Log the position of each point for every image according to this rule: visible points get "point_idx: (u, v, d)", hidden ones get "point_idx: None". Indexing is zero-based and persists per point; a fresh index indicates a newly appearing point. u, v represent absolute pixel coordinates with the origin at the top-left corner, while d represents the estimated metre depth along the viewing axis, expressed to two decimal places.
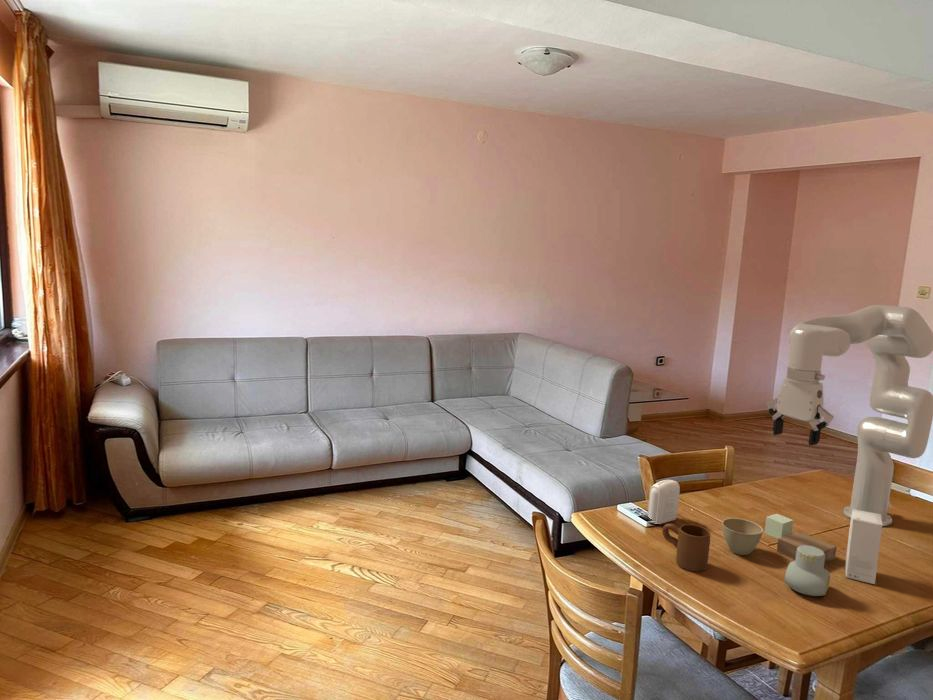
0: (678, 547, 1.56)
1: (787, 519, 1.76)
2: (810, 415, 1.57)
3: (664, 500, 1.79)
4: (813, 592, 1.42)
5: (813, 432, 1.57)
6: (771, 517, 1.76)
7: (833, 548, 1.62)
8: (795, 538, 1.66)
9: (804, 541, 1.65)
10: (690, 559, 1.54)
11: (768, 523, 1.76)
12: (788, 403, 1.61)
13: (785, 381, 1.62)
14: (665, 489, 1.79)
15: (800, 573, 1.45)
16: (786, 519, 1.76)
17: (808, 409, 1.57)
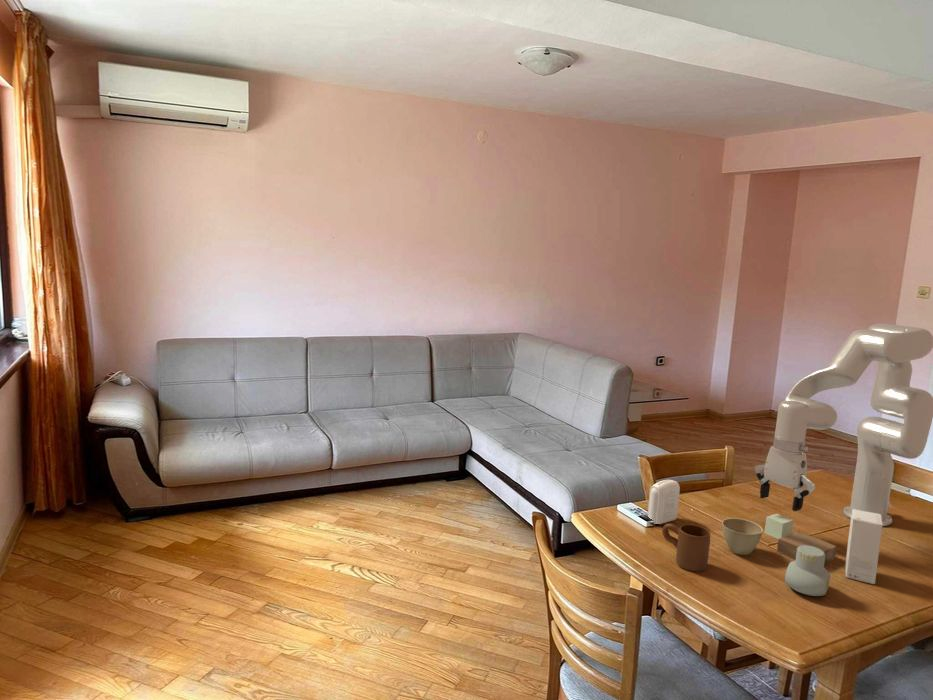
0: (678, 547, 1.56)
1: (787, 519, 1.76)
2: (794, 483, 1.69)
3: (664, 500, 1.79)
4: (813, 592, 1.42)
5: (796, 499, 1.70)
6: (771, 517, 1.77)
7: (833, 547, 1.62)
8: (795, 538, 1.66)
9: (804, 541, 1.65)
10: (690, 559, 1.54)
11: (768, 523, 1.76)
12: (774, 470, 1.74)
13: (772, 449, 1.74)
14: (665, 489, 1.79)
15: (800, 573, 1.45)
16: (786, 519, 1.76)
17: (792, 478, 1.69)
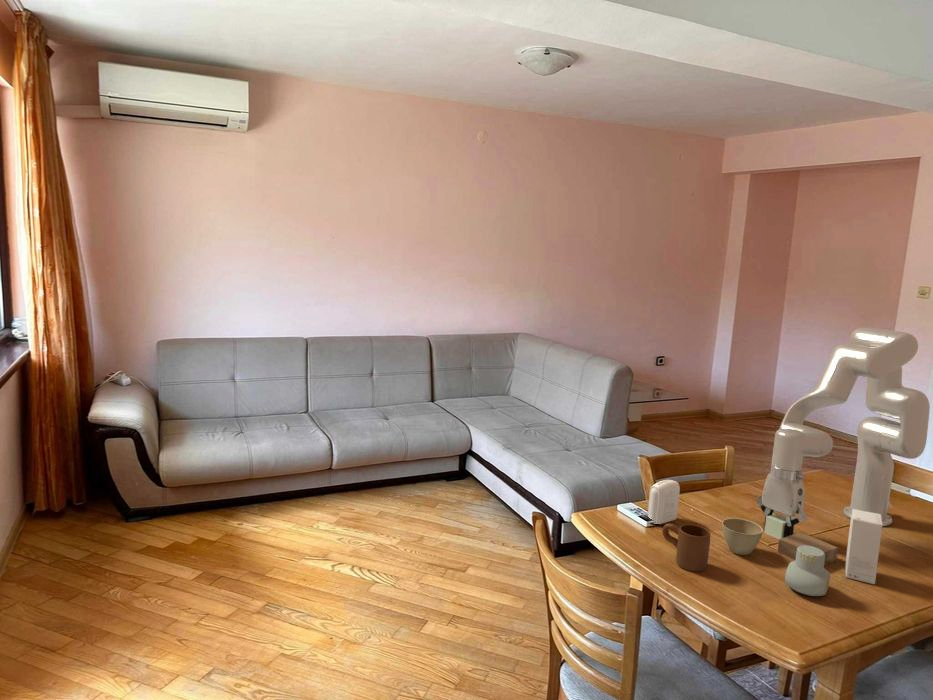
0: (678, 547, 1.56)
1: None
2: (791, 511, 1.71)
3: (664, 500, 1.79)
4: (813, 592, 1.42)
5: (787, 527, 1.73)
6: (771, 517, 1.76)
7: (834, 549, 1.61)
8: (796, 539, 1.66)
9: (805, 542, 1.64)
10: (690, 559, 1.54)
11: (768, 523, 1.76)
12: (772, 497, 1.75)
13: (769, 477, 1.76)
14: (665, 489, 1.79)
15: (800, 573, 1.45)
16: None
17: (790, 505, 1.71)
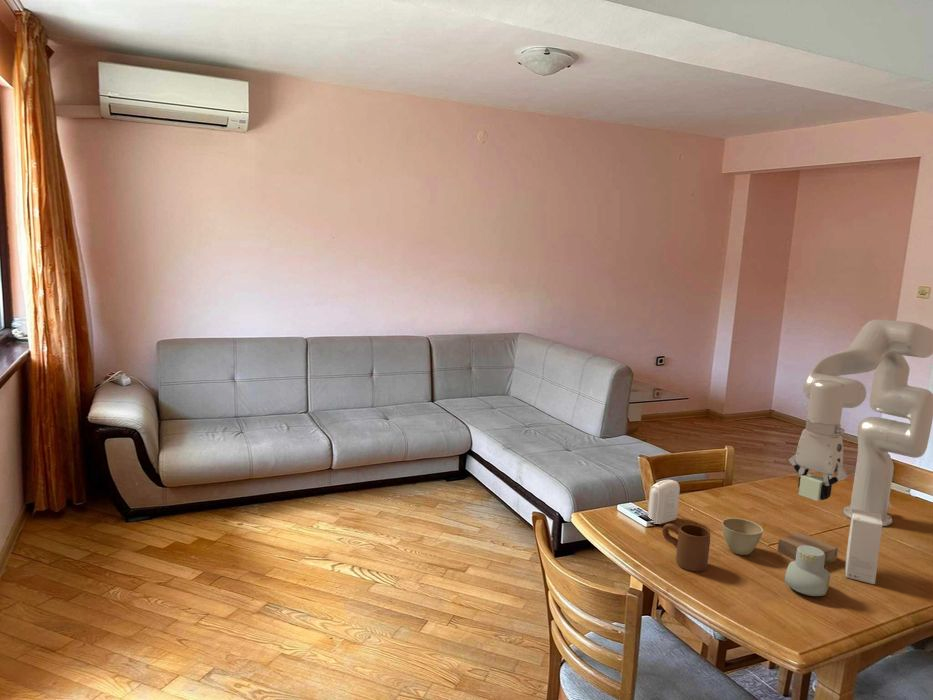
0: (678, 547, 1.56)
1: None
2: (829, 468, 1.56)
3: (664, 500, 1.79)
4: (813, 592, 1.42)
5: (824, 487, 1.58)
6: (806, 477, 1.62)
7: (834, 549, 1.61)
8: (796, 539, 1.66)
9: (805, 542, 1.64)
10: (690, 559, 1.54)
11: (803, 483, 1.62)
12: (807, 455, 1.61)
13: (804, 433, 1.61)
14: (665, 489, 1.79)
15: (800, 573, 1.45)
16: None
17: (828, 463, 1.56)
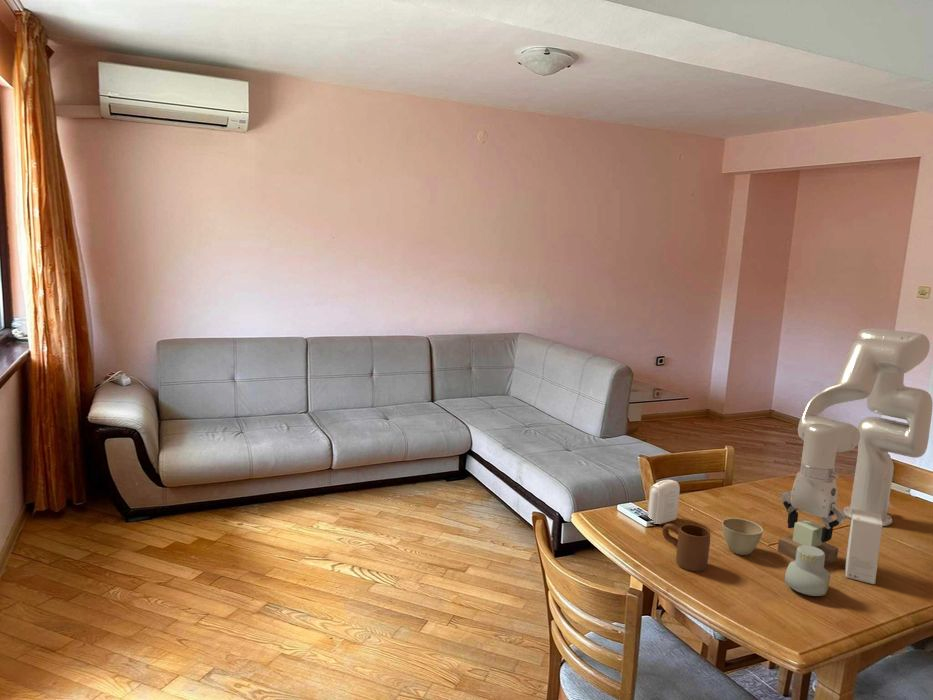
0: (678, 547, 1.56)
1: (817, 526, 1.63)
2: (823, 512, 1.58)
3: (664, 500, 1.79)
4: (813, 592, 1.42)
5: (825, 530, 1.59)
6: (800, 523, 1.64)
7: (834, 549, 1.61)
8: None
9: None
10: (690, 559, 1.54)
11: (797, 530, 1.64)
12: (802, 498, 1.62)
13: (799, 476, 1.63)
14: (665, 489, 1.79)
15: (800, 573, 1.45)
16: (816, 525, 1.63)
17: (822, 506, 1.58)
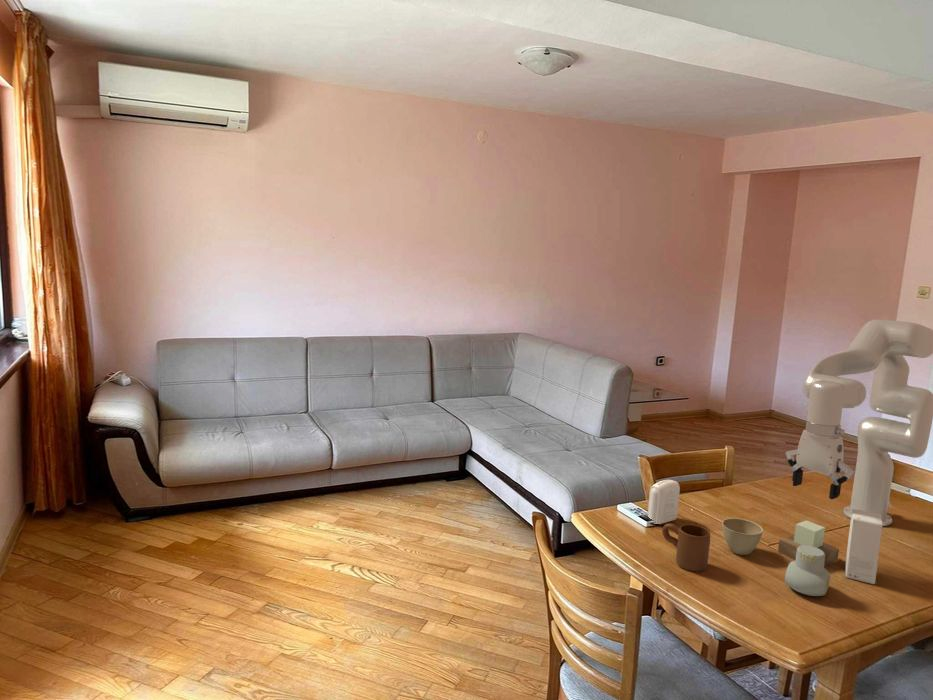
0: (678, 547, 1.56)
1: (818, 526, 1.63)
2: (830, 469, 1.57)
3: (664, 500, 1.79)
4: (813, 592, 1.42)
5: (834, 486, 1.57)
6: (801, 524, 1.64)
7: (835, 550, 1.61)
8: None
9: None
10: (690, 559, 1.54)
11: (798, 531, 1.63)
12: (808, 456, 1.61)
13: (804, 434, 1.61)
14: (665, 489, 1.79)
15: (800, 573, 1.45)
16: (817, 526, 1.63)
17: (828, 463, 1.57)
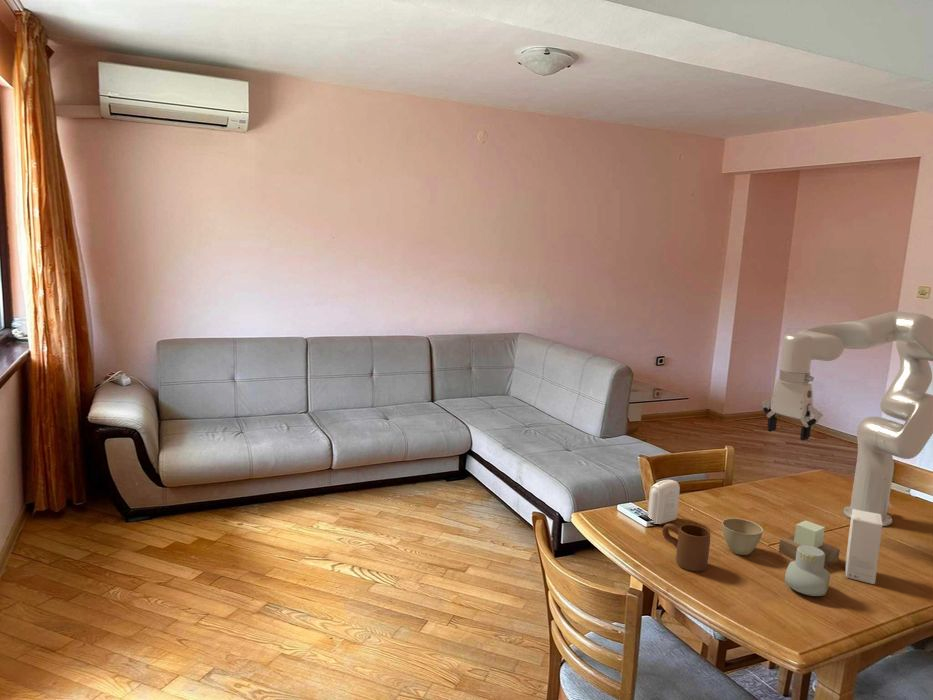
0: (678, 547, 1.56)
1: (818, 526, 1.63)
2: (801, 413, 1.73)
3: (664, 500, 1.79)
4: (813, 592, 1.42)
5: (804, 428, 1.74)
6: (801, 525, 1.63)
7: (835, 550, 1.61)
8: None
9: None
10: (690, 559, 1.54)
11: (798, 531, 1.63)
12: (781, 402, 1.77)
13: (778, 382, 1.78)
14: (665, 489, 1.79)
15: (800, 573, 1.45)
16: (817, 526, 1.63)
17: (799, 408, 1.73)
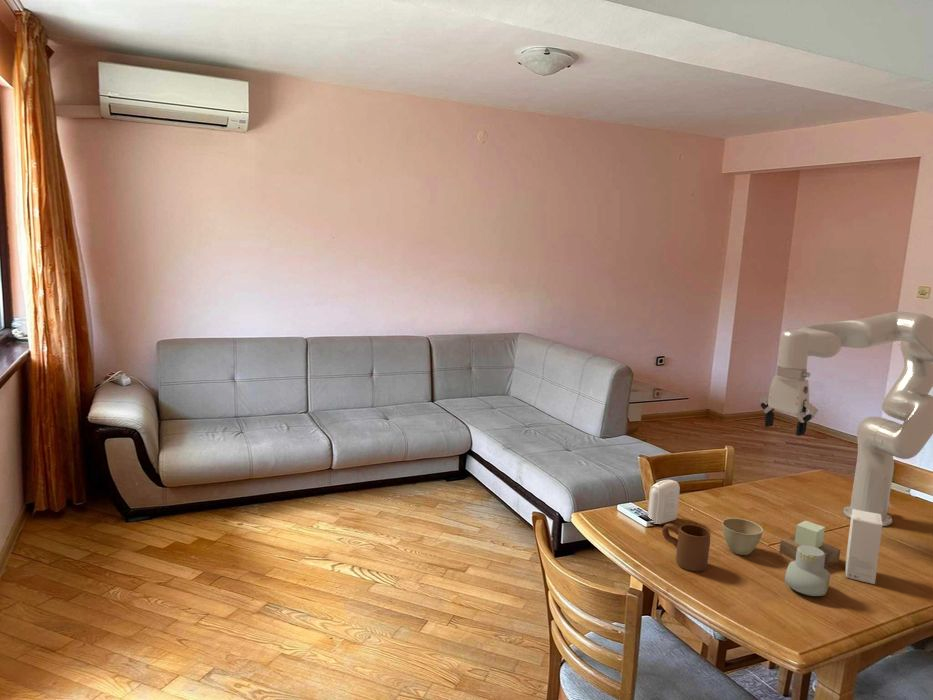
0: (678, 547, 1.56)
1: (818, 526, 1.63)
2: (797, 408, 1.75)
3: (664, 500, 1.79)
4: (813, 592, 1.42)
5: (800, 424, 1.75)
6: (802, 525, 1.63)
7: (836, 551, 1.61)
8: None
9: None
10: (690, 559, 1.54)
11: (799, 532, 1.63)
12: (778, 398, 1.79)
13: (775, 378, 1.80)
14: (665, 489, 1.79)
15: (800, 573, 1.45)
16: (818, 526, 1.63)
17: (795, 403, 1.75)
